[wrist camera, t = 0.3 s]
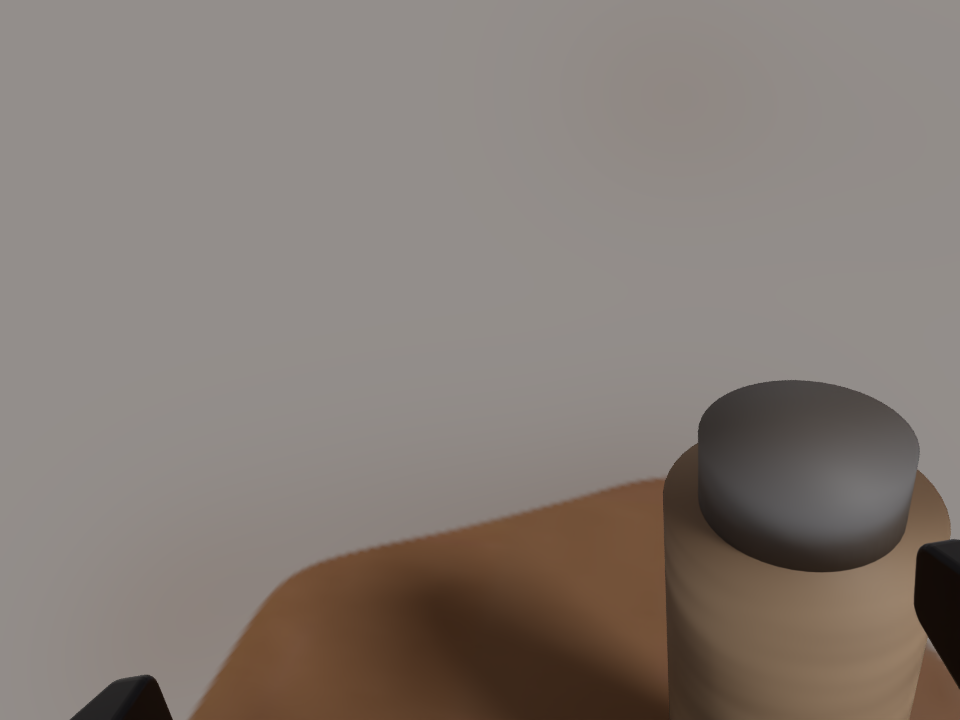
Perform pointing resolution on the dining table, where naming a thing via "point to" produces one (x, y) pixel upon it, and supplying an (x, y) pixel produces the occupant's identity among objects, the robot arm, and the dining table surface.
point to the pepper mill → (796, 558)
